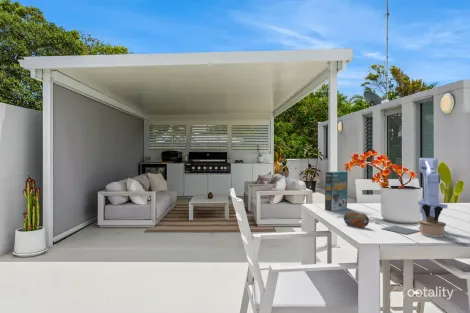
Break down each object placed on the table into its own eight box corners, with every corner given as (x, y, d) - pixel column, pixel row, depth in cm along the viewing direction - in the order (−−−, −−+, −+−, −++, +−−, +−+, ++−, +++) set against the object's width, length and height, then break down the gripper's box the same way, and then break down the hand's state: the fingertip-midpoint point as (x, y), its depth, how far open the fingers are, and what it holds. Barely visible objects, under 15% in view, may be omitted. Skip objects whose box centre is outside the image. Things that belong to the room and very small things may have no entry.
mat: (395, 226, 201) (395, 225, 201) (420, 231, 189) (420, 230, 189) (381, 229, 193) (381, 228, 193) (406, 234, 180) (406, 233, 180)
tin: (343, 224, 204) (343, 211, 204) (345, 223, 206) (346, 210, 206) (367, 228, 193) (367, 214, 193) (369, 228, 196) (369, 214, 196)
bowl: (426, 231, 189) (426, 221, 189) (447, 235, 180) (447, 224, 180) (416, 233, 183) (416, 223, 183) (437, 238, 174) (437, 227, 174)
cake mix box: (340, 207, 271) (341, 171, 271) (346, 208, 267) (347, 171, 266) (324, 209, 257) (325, 172, 257) (331, 210, 253) (332, 172, 252)
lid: (425, 220, 190) (425, 214, 190) (450, 224, 179) (450, 217, 179) (414, 222, 183) (414, 215, 183) (438, 227, 172) (439, 220, 172)
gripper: (415, 194, 185) (415, 217, 185) (443, 197, 173) (442, 222, 173) (422, 193, 189) (421, 216, 189) (449, 196, 176) (448, 221, 177)
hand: (432, 219), depth 181 cm, fingers closed on lid, 4 cm apart
